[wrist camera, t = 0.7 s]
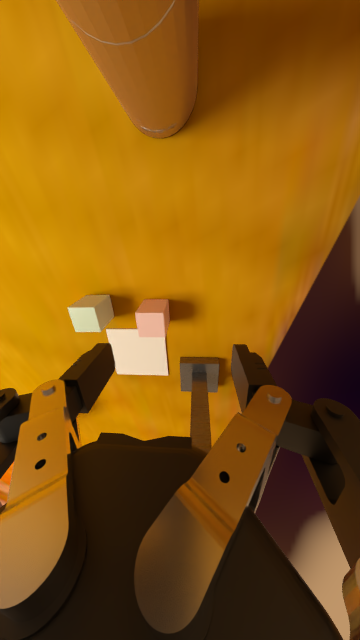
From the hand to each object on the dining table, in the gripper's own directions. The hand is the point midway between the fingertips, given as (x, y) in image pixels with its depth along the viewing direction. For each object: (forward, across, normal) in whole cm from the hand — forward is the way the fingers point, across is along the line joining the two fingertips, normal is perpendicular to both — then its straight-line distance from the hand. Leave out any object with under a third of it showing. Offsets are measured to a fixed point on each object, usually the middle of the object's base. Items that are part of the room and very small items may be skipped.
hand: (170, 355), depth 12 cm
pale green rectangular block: (+23, +17, +4) cm, 28 cm away
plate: (+23, +11, +15) cm, 30 cm away
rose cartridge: (+23, +6, +5) cm, 24 cm away
